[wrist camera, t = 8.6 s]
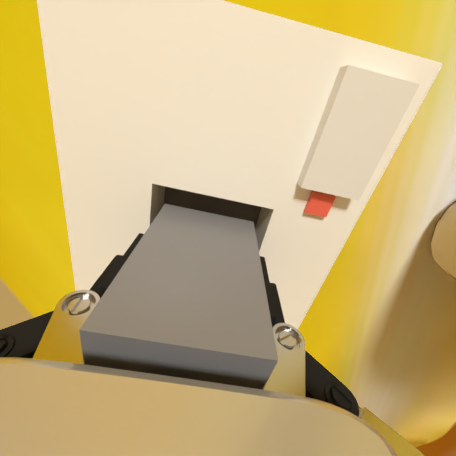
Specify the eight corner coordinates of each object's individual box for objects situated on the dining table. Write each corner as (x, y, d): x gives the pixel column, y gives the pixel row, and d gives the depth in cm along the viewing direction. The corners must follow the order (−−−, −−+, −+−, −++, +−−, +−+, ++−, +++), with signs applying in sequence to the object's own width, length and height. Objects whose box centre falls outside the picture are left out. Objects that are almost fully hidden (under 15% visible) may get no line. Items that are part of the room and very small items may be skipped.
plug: (253, 221, 13) (303, 500, 4) (233, 287, 15) (234, 558, 6) (164, 203, 13) (-15, 468, 3) (158, 273, 15) (39, 543, 6)
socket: (386, 73, 13) (460, 60, 9) (268, 329, 23) (276, 380, 19) (91, -8, 12) (9, -71, 7) (106, 302, 22) (76, 350, 18)
